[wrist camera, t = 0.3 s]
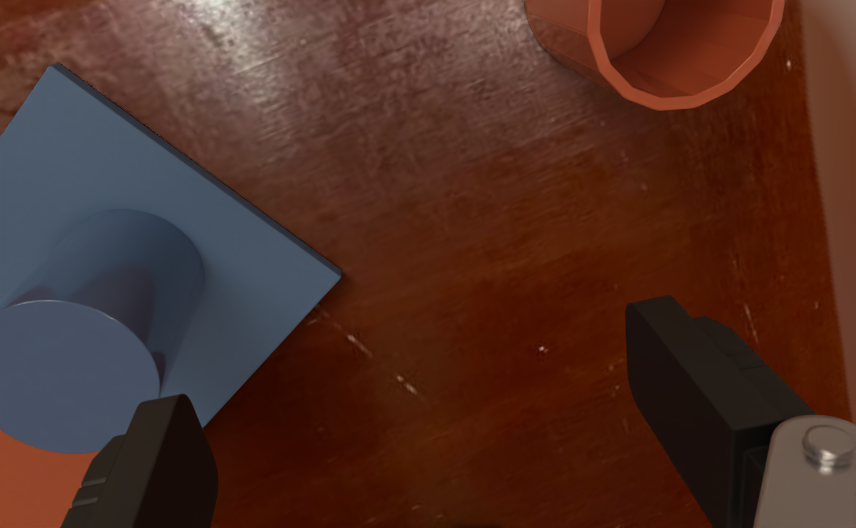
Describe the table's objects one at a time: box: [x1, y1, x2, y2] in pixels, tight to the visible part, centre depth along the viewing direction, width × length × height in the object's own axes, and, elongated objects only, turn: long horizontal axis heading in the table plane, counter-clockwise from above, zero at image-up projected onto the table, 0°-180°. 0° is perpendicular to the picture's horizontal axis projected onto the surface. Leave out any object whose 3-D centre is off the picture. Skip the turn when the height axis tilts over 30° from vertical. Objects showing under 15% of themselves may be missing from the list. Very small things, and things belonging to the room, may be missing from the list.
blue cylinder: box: [0, 209, 205, 454], centre depth 26 cm, size 6×6×8 cm
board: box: [0, 63, 341, 528], centre depth 31 cm, size 14×22×1 cm, turn 138°
